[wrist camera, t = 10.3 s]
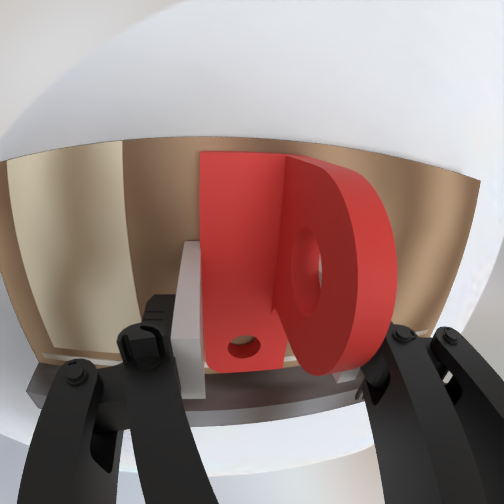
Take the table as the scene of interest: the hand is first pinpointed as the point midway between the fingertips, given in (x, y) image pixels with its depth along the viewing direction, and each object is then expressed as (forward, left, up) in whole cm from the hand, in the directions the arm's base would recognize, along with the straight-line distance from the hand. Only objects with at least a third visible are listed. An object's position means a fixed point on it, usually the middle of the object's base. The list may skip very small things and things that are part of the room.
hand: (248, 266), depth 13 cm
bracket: (0, -1, 0) cm, 1 cm away
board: (+1, -2, -2) cm, 3 cm away
